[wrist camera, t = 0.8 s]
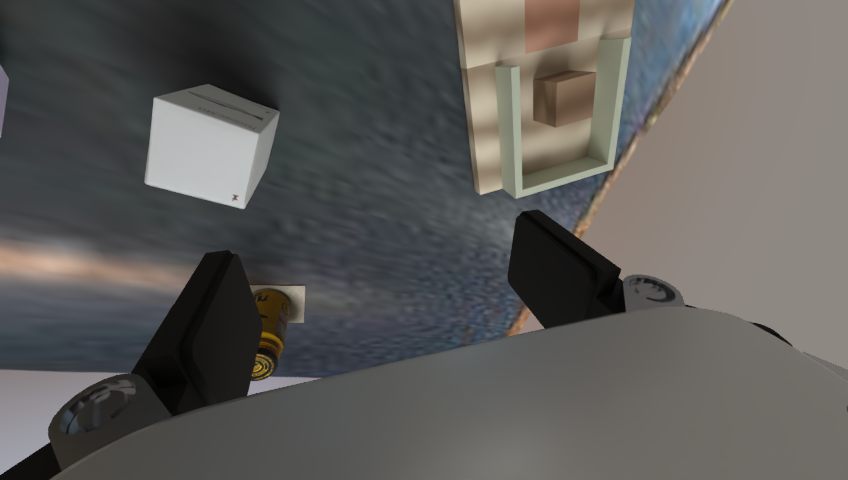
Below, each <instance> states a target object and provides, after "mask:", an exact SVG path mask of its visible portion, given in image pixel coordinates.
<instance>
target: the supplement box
mask: <svg viewBox="0 0 848 480" xmlns="http://www.w3.org/2000/svg"><path fill="white" fill-rule="evenodd" d="M279 114H280V112H279V111H278V110H275V109H272V108H269V107H266V106H263V105H260V104H257V103H255V102H252V101H249V100H247V99H244V98H242V97H239V96H237V95H234V94H232V93H229V92H227V91H224V90H222V89H219V88H217V87H215V86H212V85H210V84H205V85H201V86H197V87H193V88H189V89H185V90H181V91H177V92H173V93H170V94H165V95H162V96H158V97H154V102H153V112H152V124H151V133H150V141H149V149H148V157H147V165H146V173H145V180H144V181H145V183H146V184H148V185H150V186H154V187H158V188H162V189H166V190H170V191H174V192H178V193H182V194H186V195H190V196H193V197H197V198H201V199H205V200H209V201H213V202H217V203H221V204H225V205H229V206H233V207H237V208H240V209H244V208H245V207H246V205H247V203H248V201H249V199H250V197H251V196H252V194H253V192H254V190H255V188H256V186H257V184H258V183H259V181H260V179H261V177H262V175H263V173H264V171H265V170H266V167H267V163H268V159H269V155H270V151H271V147H272V144H273V139H274V135H275V131H276V127H277V123H278V118H279Z"/></svg>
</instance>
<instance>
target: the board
mask: <svg viewBox="0 0 848 480" xmlns="http://www.w3.org/2000/svg"><path fill="white" fill-rule="evenodd" d="M453 3H454V11H455V20H456V29H457V38H458V46H459V55H460V64H461V73H462V81H463V90H464V99H465V108H466V116H467V125H468V134H469V143H470V151H471V160H472V169H473V178H474V186H475V191H477V192H478V193H479V194H480V195H482V194H485V193H488V192H492V191H495V190H498V189H502V173H501V157H500V141H499V125H498V109H497V93H496V77H495V66H499V65H514V66H519V68H520V109H521V150H522V176H524V175H527V174H531V173H534V172H537V171H541V170H544V169H547V168H551V167H554V166H557V165H561V164H564V163H567V162H571V161H574V160H577V159H581V158H584V157H587V156H588V152H589V141H590V130H591V120H592V118H588V119H585V120H581V121H578V122H574V123H571V124H567V125H564V126H560V127H557V128H555V127H552V126H549V125H546V124H543V123H540V122H537V121H534V120H533V79H537V78H541V77H545V76H548V75H552V74H556V73H560V72H564V71H567V70H574V71H587V72H596V66H597V55H598V45H599V40H602V39H606V38H626V37H630V33H631V26H632V18H633V11H634V4H635V0H453Z"/></svg>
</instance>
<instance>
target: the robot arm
mask: <svg viewBox="0 0 848 480" xmlns="http://www.w3.org/2000/svg"><path fill="white" fill-rule="evenodd" d="M620 272H621V269H620V268H619V267H617V266H616V265H615V264H613V263H612V262H610V261H609V260H608V259H606V258H605V257H604V256H602V255H601V254H599V253H598V252H596V251H595V250H594V249H592V248H591V247H590V246H588V245H587V244H585V243H584V242H583V241H581V240H580V239H579V238H577V237H576V236H574V235H573V234H572V233H570V232H569V231H568V230H566V229H565V228H563V227H562V226H561V225H559V224H558V223H556V222H555V221H554V220H552V219H551V218H550V217H548V216H547V215H545V214H544V213H543V212H541V211H540V210H531V211H523V212H522V213H521V214H520V216H518V217H517V218H516V222H515V229H514V236H513V243H512V249H511V256H510V263H509V270H508V282H509V284H510V286H511V287H512V288H513V289H514V291H515V292H516V293H517V294H518V296H519V297H520V298H521V299H522V301H523V302H524V303H525V304H526V306H527V307H528V308H529V309H530V311H531V312H532V313H533V314H534V316H536V318H537V319H538V320H539V322H540V323H541V324H542V326H543V327H544V328H545V329H541V330H537V331H532V332H528V333H523V334H518V335H513V336H509V337H504V338H500V339H495V340H491V341H486V342H482V343H477V344H473V345H468V346H463V347H459V348H454V349H450V350H445V351H441V352H436V353H432V354H428V355H423V356H419V357H414V358H410V359H405V360H401V361H396V362H392V363H387V364H383V365H379V366H374V367H370V368H366V369H361V370H357V371H352V372H348V373H344V374H339V375H335V376H331V377H326V378H322V379H317V380H313V381H309V382H304V383H300V384H296V385H291V386H287V387H283V388H278V389H274V390H269V391H265V392H261V393H256V394H252V395H249V396H247V394H248V390H249V385H250V381H251V377H252V373H253V369H254V364H255V360H256V356H257V352H258V348H259V343H260V339H261V335H262V330H263V323H262V319H261V316H260V313H259V310H258V307H257V305H256V302H255V299H254V296H253V294H252V291H251V288H250V285H249V282H248V280H247V277H246V274H245V271H244V269H243V266H242V263H241V260H240V258H239V256H238V254H232V253H231V252H230V251H229V250H225V251H218V252H210V253H206V254H205V255H204V257H203V259H202V260H201V262H200V263H199V265H198V267H197V268H196V270H195V271H194V273H193V275H192V276H191V278H190V280H189V281H188V283H187V284H186V286H185V288H184V289H183V291H182V292H181V294H180V296H179V297H178V299H177V301H176V302H175V304H174V305H173V306H172V308H171V309H170V311H169V313H168V314H167V316H166V317H165V319H164V321H163V322H162V324H161V325H160V327H159V329H158V330H157V332H156V333H155V335H154V337H153V338H152V340H151V341H150V343H149V345H148V346H147V348H146V350H145V351H144V353H143V354H142V356H141V358H140V359H139V361H138V362H137V364H136V366H135V367H134V369H133V370H132V372H131V374H129V373H128V374H121V375H116V376H113V377H110V378H107V379H104V380H102V381H100V382H97V383H96V384H93V385H91V386H89V387H88V388H86V389H85V390H83V391H81V392H80V393H78V394H77V395H75V396H74V397H73V398H72V399H71V400H70V401H68V402H67V403H66V404H65V405H64V406H63V407H62V408H61V409H60V410H59V411H58V412H57V414H56V415H55V416H54V417H53V419H52V421H51V423H50V425H49V427H48V436H49V439H50V443H48V444H47V445H45V446H44V447H42V448H41V449H39V450H38V451H36V452H35V453H33V454H32V455H30V456H29V457H27V458H25V459H24V460H22V461H21V462H19V463H18V464H17V465H15V466H13V467H12V468H10V469H9V470H7V471H6V472H4V473H3V474H1V475H0V480H848V370H846V369H844V368H842V367H839V366H837V365H834V364H832V363H829V362H827V361H825V360H822V359H820V358H817V357H815V356H812V355H810V354H808V353H805V352H803V353H802V352H800V351H799V350H797V349H795V348H794V347H793V346H792V345H791V344H790V343H789V342H788V341H787V340H785V339H784V338H783V337H781V336H780V335H779V334H778V333H776V332H775V331H774V330H772V329H770V328H768V327H766V326H764V325H761V324H757V323H751V322H748V321H745V320H743V319H741V318H739V317H736V316H734V315H731V314H727V313H723V312H718V311H713V310H708V309H700V308H696V307H692V306H689V305H685V303H684V300H683V297H682V296H681V294H680V292H679V291H678V290H677V289H676V288H675V287H674V286H672V285H670V284H669V283H667V282H665V281H663V280H660V279H658V278H655V277H651V276H646V275H630V276H627V277H626V278H625V279H624V281H622V280H621V279H619V278H618V277H619V274H620Z"/></svg>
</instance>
